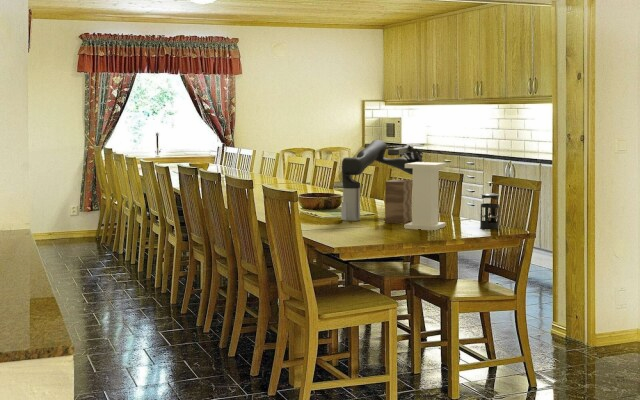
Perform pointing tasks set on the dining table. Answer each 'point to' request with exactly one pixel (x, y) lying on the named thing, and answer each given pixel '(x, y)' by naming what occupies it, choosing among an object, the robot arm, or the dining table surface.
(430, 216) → the tall stand
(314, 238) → the dining table surface
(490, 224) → the french press
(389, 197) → the low block
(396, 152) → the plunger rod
